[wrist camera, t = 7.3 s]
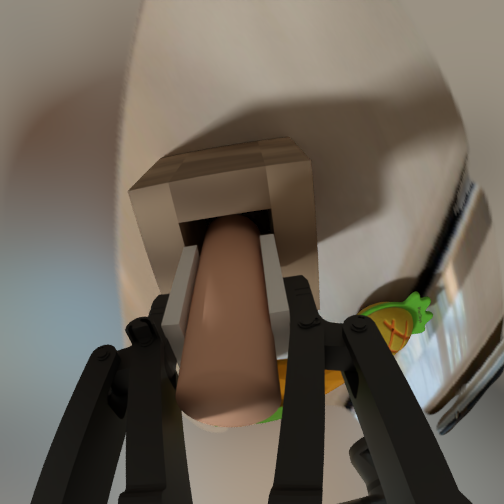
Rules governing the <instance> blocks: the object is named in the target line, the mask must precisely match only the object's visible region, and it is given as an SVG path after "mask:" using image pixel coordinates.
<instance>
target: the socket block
mask: <svg viewBox="0 0 504 504" xmlns="http://www.w3.org/2000/svg"><path fill="white" fill-rule="evenodd" d="M128 194H129V197H130V201H131V204H132V207H133V211H134V214H135V217H136V221H137V224H138V227H139V230H140V234H141V237H142V240H143V243H144V246H145V249H146V252H147V255H148V258H149V261H150V264H151V267H152V270H153V273H154V275H155V278H156V281H157V284H158V287H159V289H160V292H161V295H162V294H170V292H171V288H172V285H173V281H174V278H175V275H176V271H177V268H178V265H179V261H180V258H181V255H182V251H183V248H184V247H188V246H194V245H197V248H198V252H199V256H201V251H202V246H203V242H204V237H205V233H206V230H207V229H206V224H205V220H204V219H205V218H212V217H218V216H224V215H231V214H237V213H244V212H250V211H257V210H264V209H267V210H268V217H269V225H270V231H264V232H260V234H261V235H268V234H274V239H275V244H276V248H277V253H278V258H279V263H280V268H281V272H282V277H290V276H297V275H303V276H304V277H305V278H306V279H307V280H308V282H309V285H310V288H311V291H312V294H313V298H314V301H315V304H316V307H317V310H320V299H319V271H318V249H317V231H316V215H315V201H314V188H313V176H312V165H311V160H310V159H309V158H308V156H307V155H306V154H305V153H304V152H303V151H302V150H301V149H300V148H299V147H298V146H297V145H296V144H295V143H294V141H293V140H292V139H291V138H290V137H284V138H276V139H268V140H261V141H254V142H247V143H240V144H234V145H228V146H222V147H216V148H211V149H205V150H200V151H194V152H189V153H184V154H179V155H174V156H170V157H165V158H160V159H159V160H158V161H157V162H156V163H155V164H154V165H153V166H152V167H151V168H150V169H149V170H148V171H147V172H146V173H145V174H144V175H143V176H142V177H141V178H140V179H139V180H138V181H137V182H136V183H135V184H134V185H133V186H132V187H131V188H130V189H129V190H128Z"/></svg>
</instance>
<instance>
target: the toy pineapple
mask: <svg viewBox="0 0 504 504" xmlns="http://www.w3.org/2000/svg"><path fill="white" fill-rule="evenodd" d="M430 303H431V299H430V297H423V298H420V295H419V293H418V292H413V293H412V294H411V295H410V296H409V297H408V298H407V299H406V300H405V301H404V302H379V303H376V304H372V305H370V306H368V307H366V308H365V309H363V310H361V311H360V312H359V313H358V314H357V315H365V316H368V317H370V318H371V319H372V320H373V321H374V322H375V324H376V325H377V327H378V329H379V331H380V332H381V334H382V336H383V338H384V340H385V341H386V343H387V345H388V347H389V349H390V350H391V352H392V354H393V356H394V355H395V354H396V353H397V352H398V351H399V350H401V349H402V348H403V347H404V346H405V345H406V344H407V342H408V340H409V339H410V336H411V334H418V333H422V332H423V331H425V324H426V323H427V322H428V321H429V320H430V319H431V318H432V317H433V314H432V313H431V312H430V311H426V308H427V307H428V306H429V305H430Z"/></svg>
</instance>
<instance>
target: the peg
mask: <svg viewBox="0 0 504 504" xmlns="http://www.w3.org/2000/svg"><path fill="white" fill-rule="evenodd" d="M260 236H261V234H260V231H259V229H258V227H257V226H256V224H255V223H254V222H253V221H252V220H250V219H249V218H247V217H245V216H242V215H238V214H231V215H224V216H220V217H218V218H216V219H215V220H214V221H213V222H211V224H210V225H209V226H208V228H207V230H206V233H205V237H204V242H203V246H202V251H201V256H200V261H199V266H198V271H197V276H196V281H195V286H194V291H193V296H192V301H191V307H190V312H189V317H188V323H187V328H186V334H185V340H184V346H183V351H182V357H181V363H180V369H179V376H178V382H177V388H176V402H177V404H178V406H179V407H180V409H181V410H182V411H183V412H184V413H185V414H187V415H188V416H190V417H191V418H193V419H195V420H197V421H199V422H202V423H205V424H209V425H213V426H219V427H242V426H247V425H252V424H256V423H259V422H261V421H263V420H265V419H267V418H269V417H270V416H272V415H273V414H274V413H275V412H276V411H277V410H278V408H279V407H280V404H281V390H280V382H279V374H278V366H277V358H276V350H275V341H274V335H273V332H272V328H271V321H270V314H269V306H268V298H267V290H266V282H265V274H264V266H263V258H262V250H261V242H260Z"/></svg>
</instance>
